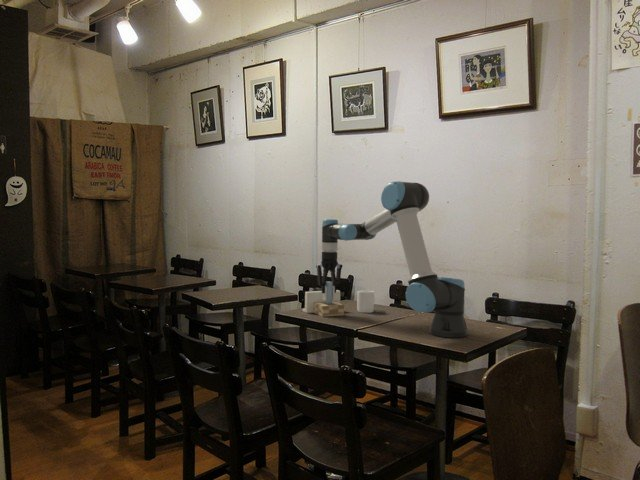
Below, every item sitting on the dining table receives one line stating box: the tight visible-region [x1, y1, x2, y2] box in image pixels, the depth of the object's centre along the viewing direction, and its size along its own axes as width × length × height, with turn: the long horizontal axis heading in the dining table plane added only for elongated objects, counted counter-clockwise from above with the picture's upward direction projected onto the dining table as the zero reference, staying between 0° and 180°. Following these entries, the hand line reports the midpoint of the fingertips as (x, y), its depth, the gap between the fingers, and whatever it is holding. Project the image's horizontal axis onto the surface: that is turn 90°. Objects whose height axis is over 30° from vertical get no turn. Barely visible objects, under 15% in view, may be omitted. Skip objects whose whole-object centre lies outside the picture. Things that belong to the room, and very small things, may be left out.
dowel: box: [325, 281, 333, 305], centre depth 256 cm, size 3×3×14 cm
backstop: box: [302, 289, 341, 314], centre depth 263 cm, size 5×18×10 cm, turn 114°
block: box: [314, 301, 345, 318], centre depth 256 cm, size 11×11×5 cm
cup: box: [356, 289, 375, 314], centre depth 266 cm, size 8×12×10 cm
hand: (328, 299), depth 256 cm, fingers closed on dowel, 3 cm apart
